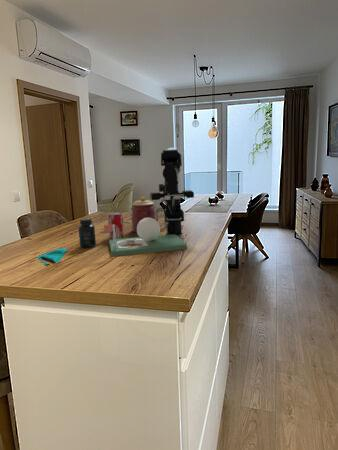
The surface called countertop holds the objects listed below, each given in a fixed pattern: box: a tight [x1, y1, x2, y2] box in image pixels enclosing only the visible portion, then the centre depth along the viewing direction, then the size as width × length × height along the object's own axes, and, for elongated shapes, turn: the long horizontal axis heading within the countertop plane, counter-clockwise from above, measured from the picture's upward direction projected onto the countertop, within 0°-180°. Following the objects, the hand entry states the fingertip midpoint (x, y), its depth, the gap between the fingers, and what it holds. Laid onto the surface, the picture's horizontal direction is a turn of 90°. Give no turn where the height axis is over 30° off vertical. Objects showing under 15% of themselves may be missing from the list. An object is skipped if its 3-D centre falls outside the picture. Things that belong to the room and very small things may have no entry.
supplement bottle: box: [78, 218, 97, 249], centre depth 144 cm, size 7×7×12 cm
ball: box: [136, 218, 161, 241], centre depth 143 cm, size 10×10×10 cm
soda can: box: [107, 211, 125, 240], centre depth 158 cm, size 7×7×12 cm
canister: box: [130, 196, 157, 233], centre depth 173 cm, size 13×13×18 cm
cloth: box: [36, 247, 69, 267], centre depth 132 cm, size 26×14×2 cm, turn 172°
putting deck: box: [103, 224, 188, 257], centre depth 141 cm, size 32×20×12 cm, turn 103°
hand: (172, 214), depth 148 cm, fingers closed
